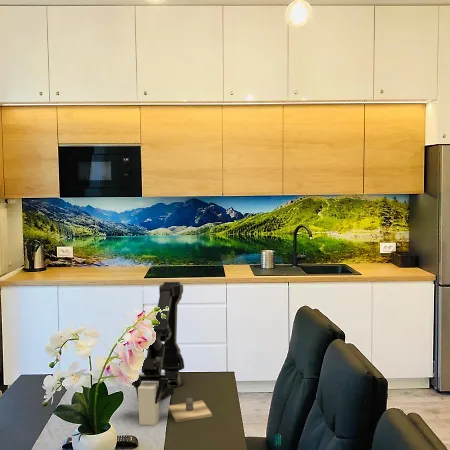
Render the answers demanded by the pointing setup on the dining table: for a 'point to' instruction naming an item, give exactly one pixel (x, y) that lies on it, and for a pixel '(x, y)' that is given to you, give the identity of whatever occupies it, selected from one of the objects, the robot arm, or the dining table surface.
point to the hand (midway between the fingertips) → (147, 403)
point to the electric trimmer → (167, 392)
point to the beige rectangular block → (148, 403)
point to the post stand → (189, 410)
